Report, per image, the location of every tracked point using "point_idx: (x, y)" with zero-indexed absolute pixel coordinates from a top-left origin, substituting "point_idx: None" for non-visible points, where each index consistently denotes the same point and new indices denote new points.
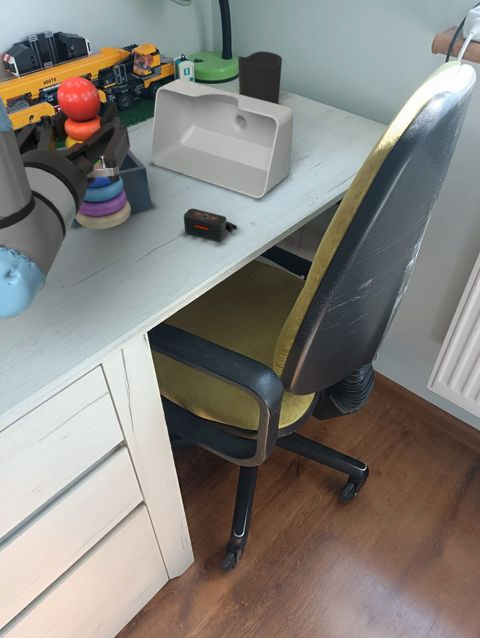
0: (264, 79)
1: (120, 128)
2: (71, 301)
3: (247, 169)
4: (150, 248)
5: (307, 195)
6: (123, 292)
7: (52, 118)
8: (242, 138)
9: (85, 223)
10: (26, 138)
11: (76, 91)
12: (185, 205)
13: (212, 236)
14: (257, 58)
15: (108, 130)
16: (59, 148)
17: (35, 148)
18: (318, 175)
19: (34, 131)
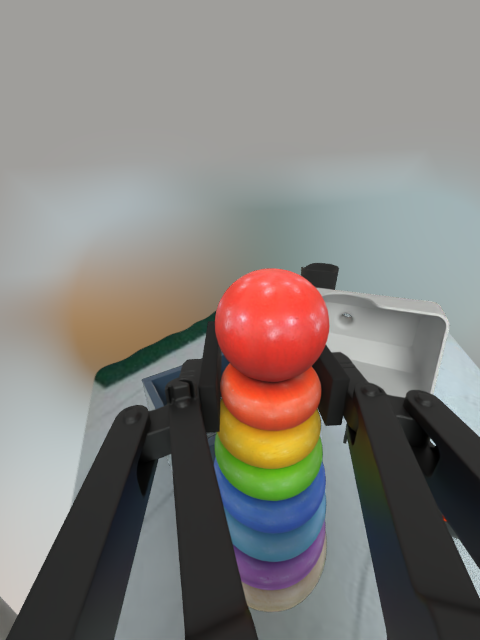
0: (328, 281)
1: (426, 405)
2: None
3: (365, 367)
4: (350, 579)
5: (469, 400)
6: None
7: (187, 370)
8: (346, 334)
9: (247, 603)
10: (109, 530)
11: (295, 306)
12: (335, 435)
13: (454, 532)
14: (312, 268)
15: (395, 418)
16: (163, 372)
17: (143, 506)
18: (444, 368)
19: (144, 442)
